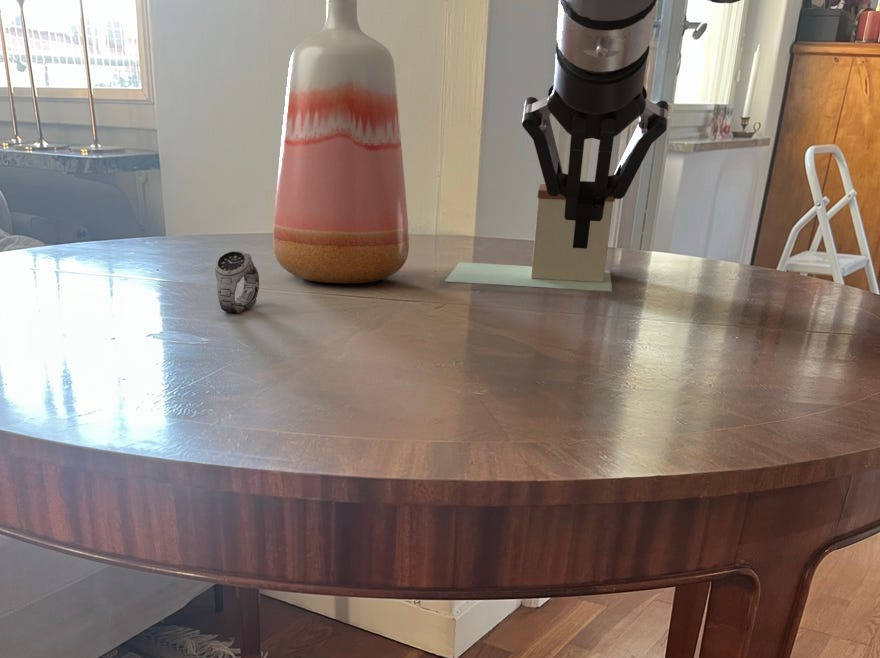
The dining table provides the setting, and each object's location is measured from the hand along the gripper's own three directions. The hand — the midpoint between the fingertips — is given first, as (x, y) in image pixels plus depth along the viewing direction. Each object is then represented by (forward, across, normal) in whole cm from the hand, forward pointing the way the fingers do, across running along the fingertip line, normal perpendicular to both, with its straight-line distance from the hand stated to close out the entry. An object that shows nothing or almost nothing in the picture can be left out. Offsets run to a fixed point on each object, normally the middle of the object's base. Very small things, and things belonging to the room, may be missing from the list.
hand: (581, 237), depth 100 cm
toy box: (+9, -1, +2) cm, 10 cm away
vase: (+1, -25, -6) cm, 26 cm away
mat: (+8, -5, 0) cm, 9 cm away
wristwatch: (-12, -30, -19) cm, 38 cm away
